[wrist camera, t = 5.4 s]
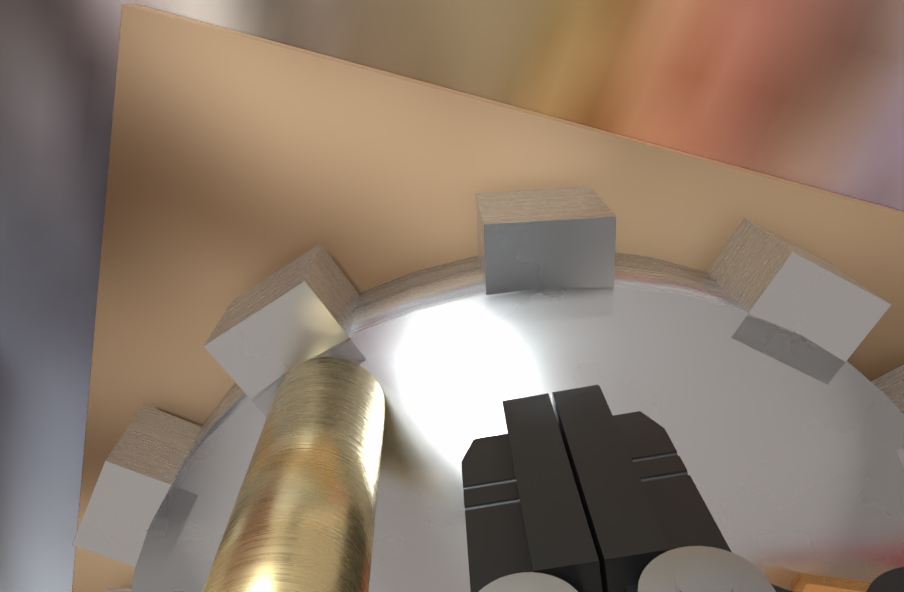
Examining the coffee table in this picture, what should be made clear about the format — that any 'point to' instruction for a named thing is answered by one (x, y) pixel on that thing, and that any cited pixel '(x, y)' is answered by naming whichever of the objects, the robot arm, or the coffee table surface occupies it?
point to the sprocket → (481, 410)
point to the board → (370, 206)
